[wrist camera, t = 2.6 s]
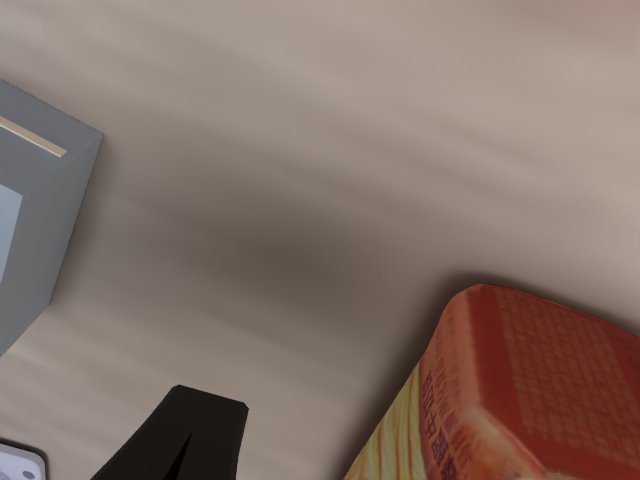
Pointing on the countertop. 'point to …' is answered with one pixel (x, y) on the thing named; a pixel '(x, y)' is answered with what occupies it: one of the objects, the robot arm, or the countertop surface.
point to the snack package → (513, 397)
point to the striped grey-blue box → (37, 202)
